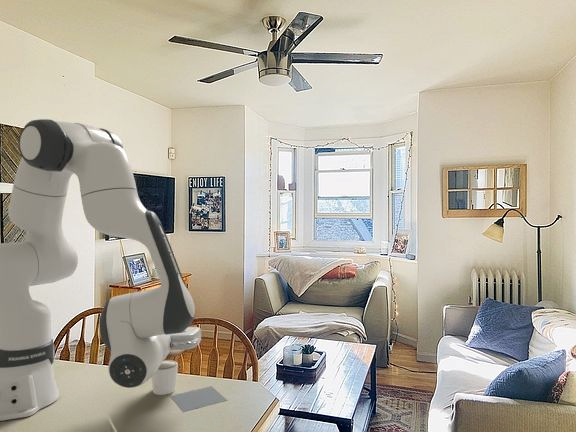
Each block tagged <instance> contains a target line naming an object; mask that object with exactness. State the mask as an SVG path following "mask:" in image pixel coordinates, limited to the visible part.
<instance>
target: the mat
mask: <svg viewBox="0 0 576 432" xmlns="http://www.w3.org/2000/svg"><path fill="white" fill-rule="evenodd" d="M169 397H170V398H171V399H172V401H173V402H174V403H175V404H176V405H177V407H178V408H179V409H180V410H181V411H182V412H183V413H185V412H188V411H193V410H196V409H201V408H204V407H208V406H211V405H215V404H220V403H222V402H227V401H228V399H227V398H225V396H223V395H222V394H221V393H220V391H219V392H218V390H216V388H215V387H213V386H211V385H210V386H206V387H202V388H198V389H194V390H189V391H186V392H182V393H177V394H172V395H169Z"/></svg>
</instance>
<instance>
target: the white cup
mask: <svg viewBox="0 0 576 432" xmlns="http://www.w3.org/2000/svg"><path fill="white" fill-rule="evenodd" d="M178 365H179V363H178V361H176V360H171V359H169V360H168V359H167V360H164V361H163V362H162V364H161V365H160V366H159V368H158V370H157V371H156V372H155V374H154V375H153V376H152V377H151V378H150V379H151V383H152V384H151V385H152V386H151V387H152V393H153V394H154V395H161V396H163V395H164V396H165V395H169V394H172V393H174V392H176V390H177V379H178V370H179V369H178V368H179V366H178Z"/></svg>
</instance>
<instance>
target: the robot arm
mask: <svg viewBox="0 0 576 432" xmlns="http://www.w3.org/2000/svg"><path fill="white" fill-rule="evenodd" d="M18 150H19V153H20V156H21V159H20V160H19V164H18V167H17V169H16V173H15V177H14V180H13V185H12V190H11V195H10V200H9V206H8V210H7V214H8V217H9V220H10V221H11V222H12V223H13V225H14V226H16V227H18V228H20V229H22V230H24V231H25V239H24V240H23V241H18V242H4V243H3V242H1V243H0V422H1V421H7V420H14V419H21V418H27V417H30V416H33V415H34V414H36V413H37V412H38V411H40V410H41V409H43V408H46V407H48V406H49V405H51V404H53V403H55V402H56V401H57V400H58V399H59V398H60V395H61V393H60V391H59V389H58V386H57V382H56V378H55V377H56V376H55V371H54V361H55V344H54V339H53V338H52V311H51V310H50V308H49V307H48V306H47V305H46V304H45V303H43V302H41V301H38V300H34V299H33V298H32V297H31V294H30V289H29V288H30V287H32V286H33V287H36V286H40V285H45V284H53V283H57V282H58V281H62V280H65V279H67V278H69V277H71V276H72V275H73V274H74V273H75V271H76V270H77V267H78V264H79V263H78V262H79V260H78V259H79V258H78V253H77V251H76V248H75V247H74V246H73V245H72V244H71V243H70V242H68V240H67V239H66V237H65V235H64V232H63V225H62V224H63V223H62V222H63V215H64V209H65V203H66V199H67V194H68V189H69V184H70V180H71V177H72V175H74V174H75V176H76V177H77V179H78V182H79V191H80V197H81V199H80V200H81V204H82V209H83V214H84V216H85V219H86V221H87V223H88V224H89V225H90V226H91V227H92V228H93V229H94V230H96V231H98V232H99V233H101V234H104V235H107V236H112V237H117V238H123V239H128V240H133V241H136V242H139V243H141V244H142V245H144V246H145V248H146V249H147V250H148V252H149V255H150V258H151V260H152V263H153V265H154V268H155V271H156V273H157V276H158V280H159V282H160V286H159V287H156V288H150V289H145V290H141V291H140V290H139V291H134V292H130V293H125V294H120V295H116V296H112V297H110V298H109V299H108V300H107V302H106V303H105V304H104V306H103V308H102V310H101V314H100V315H99V321H98V322H99V323H98V324H99V331H100V335H101V340H102V342H103V344H104V346H105V347H106V349H107V350H108V351H109V352H110V357H109V360H108V361H109V362H108V375H109V377H110V379H111V380H112V381H113V383H114V384H116V385H118V386H119V387H122V388H127V389H131V388H137V387H141V386H142V385H143V384H145V383H146V382H148V381H149V380H150V379H152V378H151V377H152V376H153V375H154V374H155V372H156V371H157V370H158V368H159V366H160V365H161V364H162V362H163V361H164V360H165V359H167V358H166V357H167V355H168V354H169V352H170V350H185V351H189V350H192V349H194V348H196V347H197V346H198V345H199V344H201V341H202V329H201V328H200V327H198V326H191V324H192V323H193V321H194V320H195V317H196V310H195V308H196V306H195V303H194V299H193V297H192V295H191V293H190V291H189V288H188V287H187V284H186V283H185V280H184V278H183V275H182V273H181V270H180V268H179V265H178V262H177V260H176V257H175V254H174V252H173V249H172V246H171V243H170V241H169V238H168V235H167V233H166V231H165V229H164V226H163V224H162V222H161V220H160V219H159V217H158V215H157V214H156V213H155V212H154V211H152V210H148V209H147V208H146V207H145V206H144V204H143V203H142V201H141V199H140V196H139V194H138V187H137V185H136V179H135V177H134V176H135V175H134V173H133V170H132V166H131V163H130V161H129V158H128V156H127V152H126V151H125V150H124V146H123V143H122V140H121V139H120V138H119V136H117V135H116V134H115V133H114V132H111V131H109V130H107V129H104V128H99V127H98V128H97V127H94V126H92V125H87V124H84V123H79V122H74V123H73V122H69V121H68V122H67V121H57V120H56V121H55V120H53V119H47V118H46V119H43V118H42V119H34V120H30V121H29V122H27V123H26V124H25V126H24V127H23V128H22V129H21V131H20V134H19V137H18Z"/></svg>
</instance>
